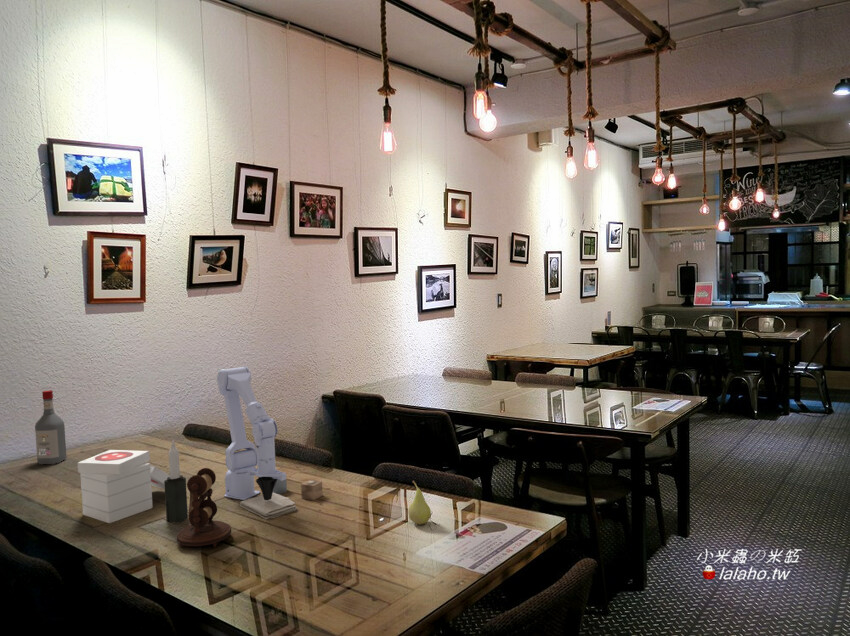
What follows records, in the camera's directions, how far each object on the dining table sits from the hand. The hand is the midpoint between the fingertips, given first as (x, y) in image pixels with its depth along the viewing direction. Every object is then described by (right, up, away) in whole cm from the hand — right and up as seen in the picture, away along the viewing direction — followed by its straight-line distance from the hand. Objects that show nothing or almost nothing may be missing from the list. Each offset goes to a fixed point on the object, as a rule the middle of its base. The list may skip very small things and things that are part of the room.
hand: (267, 499), depth 204 cm
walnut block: (+13, -2, +9) cm, 16 cm away
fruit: (+49, -3, -16) cm, 52 cm away
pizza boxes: (-46, -4, +6) cm, 47 cm away
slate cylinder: (0, -2, +16) cm, 16 cm away
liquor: (-106, -2, +61) cm, 122 cm away
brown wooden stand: (-12, -5, -24) cm, 27 cm away
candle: (-26, -4, -8) cm, 28 cm away
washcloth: (0, -4, 0) cm, 4 cm away
